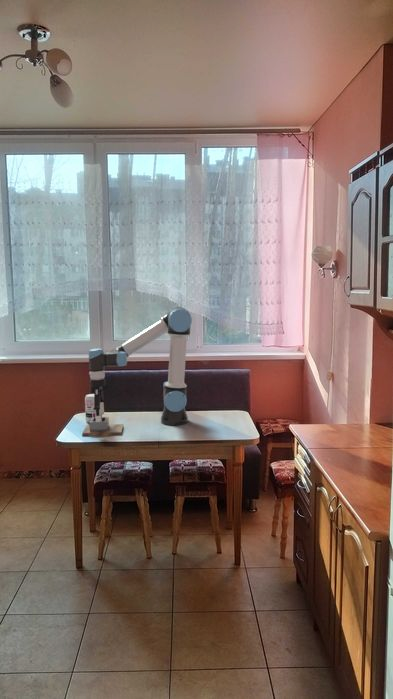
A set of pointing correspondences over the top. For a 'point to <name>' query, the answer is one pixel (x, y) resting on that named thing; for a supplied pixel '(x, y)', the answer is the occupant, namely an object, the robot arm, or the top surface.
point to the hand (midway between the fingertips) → (100, 417)
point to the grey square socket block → (99, 424)
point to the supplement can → (89, 407)
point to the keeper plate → (112, 430)
